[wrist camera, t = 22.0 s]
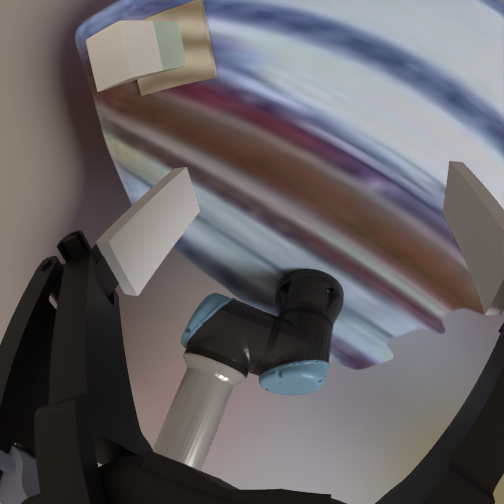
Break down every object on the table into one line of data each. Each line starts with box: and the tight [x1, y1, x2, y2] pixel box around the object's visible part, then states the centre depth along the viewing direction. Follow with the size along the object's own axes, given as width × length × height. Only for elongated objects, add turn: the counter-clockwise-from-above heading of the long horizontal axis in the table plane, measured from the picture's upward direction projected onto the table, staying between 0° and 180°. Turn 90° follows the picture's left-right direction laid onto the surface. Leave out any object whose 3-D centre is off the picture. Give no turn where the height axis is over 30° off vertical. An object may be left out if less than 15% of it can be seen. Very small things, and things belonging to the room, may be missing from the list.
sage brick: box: [139, 21, 187, 79], centre depth 32 cm, size 8×6×7 cm
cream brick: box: [86, 21, 163, 92], centre depth 27 cm, size 8×6×7 cm
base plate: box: [137, 0, 218, 96], centre depth 35 cm, size 14×14×2 cm
